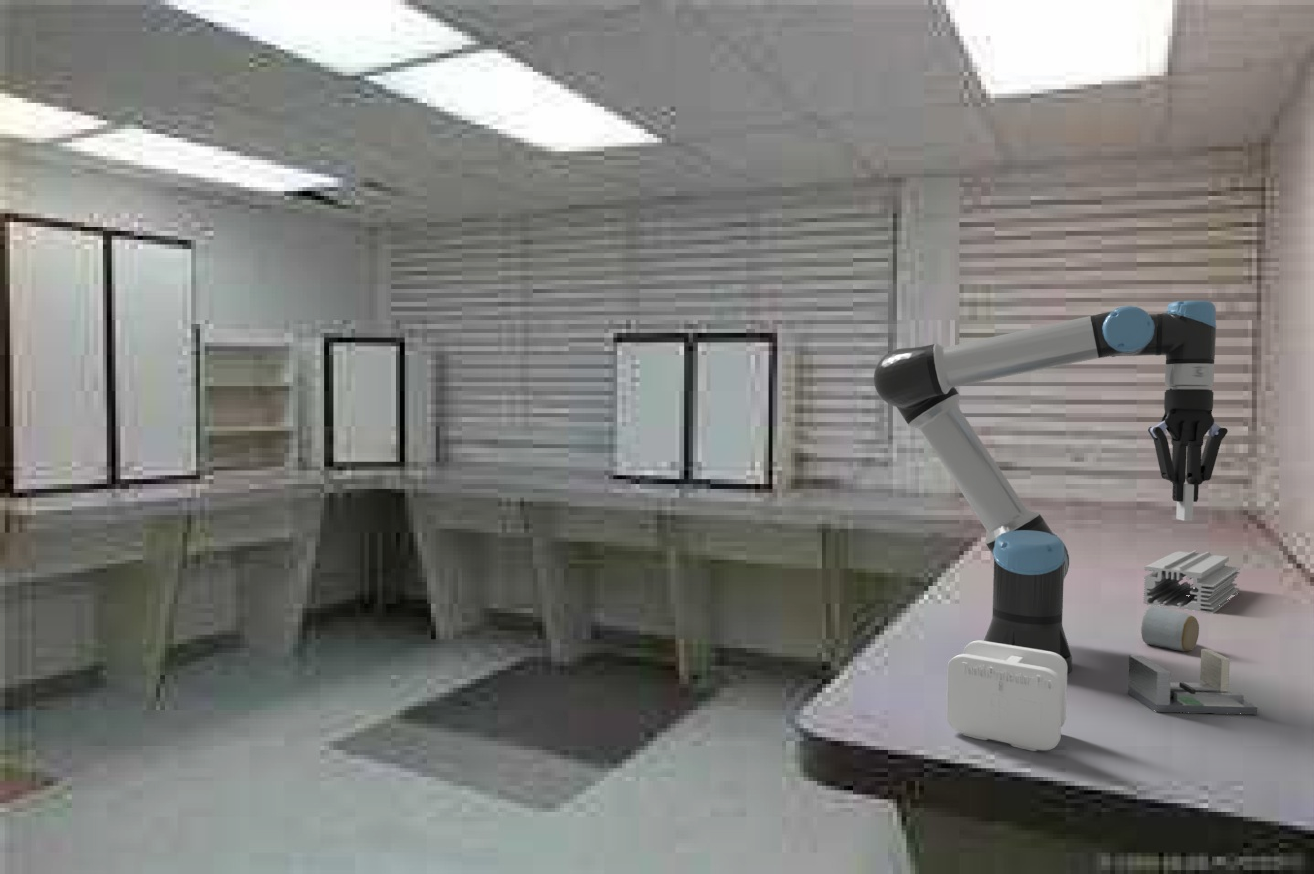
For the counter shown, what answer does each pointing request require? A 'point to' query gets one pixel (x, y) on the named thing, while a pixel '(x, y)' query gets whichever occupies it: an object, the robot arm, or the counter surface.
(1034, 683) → the cable organizer
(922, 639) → the counter surface
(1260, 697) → the counter surface
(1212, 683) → the sliding gauge carriage
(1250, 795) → the counter surface
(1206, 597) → the aluminum extrusion profile
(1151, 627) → the grey tan cylinder
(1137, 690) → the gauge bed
